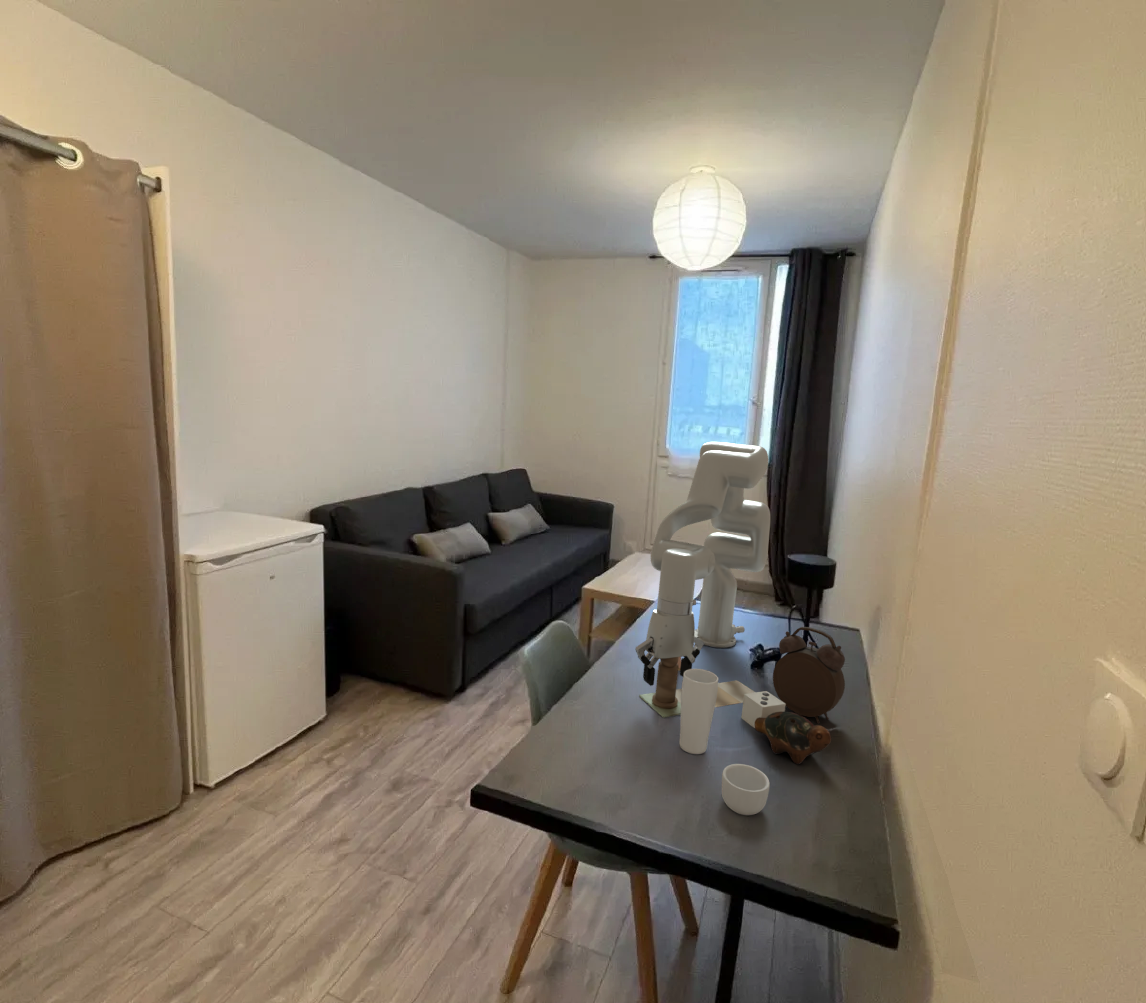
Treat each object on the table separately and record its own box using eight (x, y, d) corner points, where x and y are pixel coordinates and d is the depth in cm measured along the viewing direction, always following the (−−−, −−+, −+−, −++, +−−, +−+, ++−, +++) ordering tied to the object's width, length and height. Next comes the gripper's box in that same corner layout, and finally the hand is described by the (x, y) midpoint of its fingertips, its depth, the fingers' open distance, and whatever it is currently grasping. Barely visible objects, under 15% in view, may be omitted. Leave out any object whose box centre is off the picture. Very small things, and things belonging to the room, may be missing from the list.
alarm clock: (842, 722, 137) (855, 635, 134) (830, 733, 132) (843, 643, 129) (779, 697, 147) (790, 616, 144) (765, 707, 141) (776, 622, 138)
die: (763, 716, 137) (766, 690, 136) (782, 730, 131) (785, 703, 130) (741, 720, 134) (744, 693, 134) (759, 734, 129) (762, 706, 128)
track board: (736, 681, 153) (737, 680, 153) (764, 700, 145) (765, 698, 144) (639, 696, 142) (639, 694, 141) (663, 717, 133) (663, 716, 133)
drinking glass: (689, 760, 117) (698, 685, 115) (668, 742, 123) (676, 670, 121) (717, 753, 120) (726, 680, 118) (695, 736, 126) (703, 666, 124)
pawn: (668, 695, 142) (673, 643, 140) (682, 707, 137) (688, 653, 135) (647, 698, 140) (652, 646, 138) (660, 710, 135) (666, 656, 133)
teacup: (766, 827, 100) (771, 796, 99) (717, 815, 102) (721, 785, 101) (764, 791, 109) (768, 763, 108) (720, 781, 111) (723, 753, 110)
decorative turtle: (821, 779, 114) (823, 738, 113) (743, 750, 124) (744, 713, 123) (838, 756, 122) (840, 718, 120) (764, 731, 131) (765, 695, 130)
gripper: (697, 598, 142) (689, 669, 145) (631, 603, 135) (624, 677, 137) (717, 608, 135) (709, 683, 138) (649, 614, 128) (642, 692, 131)
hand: (666, 680), depth 138 cm, fingers open, 9 cm apart
